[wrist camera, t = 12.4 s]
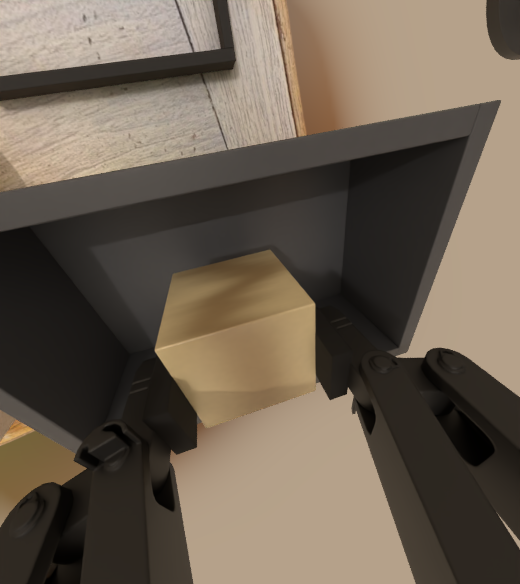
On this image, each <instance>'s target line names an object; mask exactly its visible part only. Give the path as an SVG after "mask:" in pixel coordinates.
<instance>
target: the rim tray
mask: <svg viewBox="0 0 520 584" xmlns="http://www.w3.org/2000/svg"><path fill="white" fill-rule="evenodd" d="M213 6H214V11H215V17H216V23H217V28H218V34H219V40H220V45H221V49H218V50H210V51H202V52H194V53H186V54H178V55H170V56H162V57H153V58H145V59H137V60H129V61H121V62H113V63H105V64H97V65H89V66H81V67H73V68H65V69H57V70H49V71H41V72H33V73H24V74H16V75H8V76H0V101H2V100H9V99H17V98H24V97H31V96H39V95H46V94H53V93H60V92H68V91H75V90H82V89H90V88H97V87H104V86H112V85H119V84H126V83H134V82H141V81H148V80H156V79H163V78H170V77H178V76H185V75H192V74H199V73H207V72H214V71H221V70H229V69H233V67H234V64H235V61H236V59H235V52H234V45H233V39H232V32H231V26H230V19H229V13H228V6H227V0H213Z"/></svg>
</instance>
